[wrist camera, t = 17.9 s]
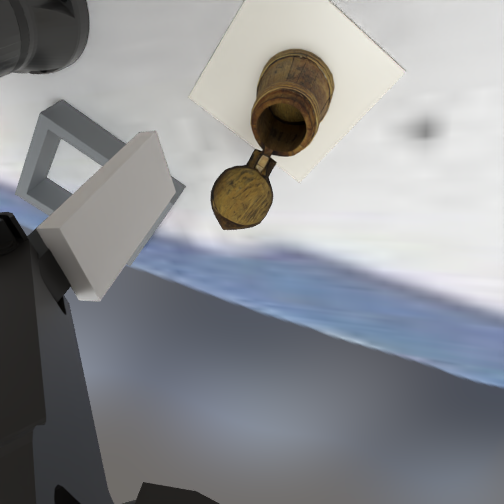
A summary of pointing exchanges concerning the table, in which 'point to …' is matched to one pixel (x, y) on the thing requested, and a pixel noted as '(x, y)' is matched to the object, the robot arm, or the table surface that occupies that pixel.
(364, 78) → the cream board
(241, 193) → the wooden mug
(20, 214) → the table surface
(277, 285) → the table surface
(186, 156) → the table surface
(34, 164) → the hollow square frame
